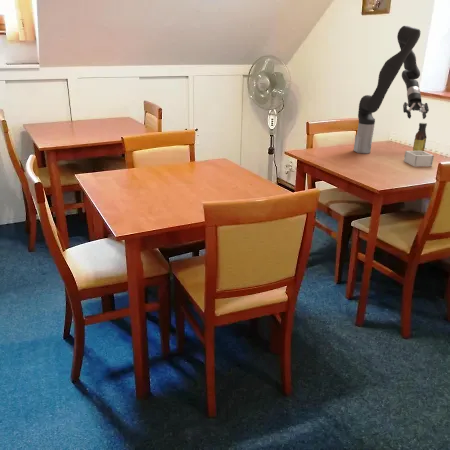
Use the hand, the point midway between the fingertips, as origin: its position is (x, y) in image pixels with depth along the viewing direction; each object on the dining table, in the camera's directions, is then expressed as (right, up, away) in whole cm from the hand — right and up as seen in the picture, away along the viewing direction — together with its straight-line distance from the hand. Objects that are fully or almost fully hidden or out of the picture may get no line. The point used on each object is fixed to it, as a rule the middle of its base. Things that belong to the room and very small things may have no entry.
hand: (417, 118), depth 273 cm
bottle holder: (-7, -29, -16) cm, 34 cm away
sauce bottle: (-1, -24, -2) cm, 24 cm away
